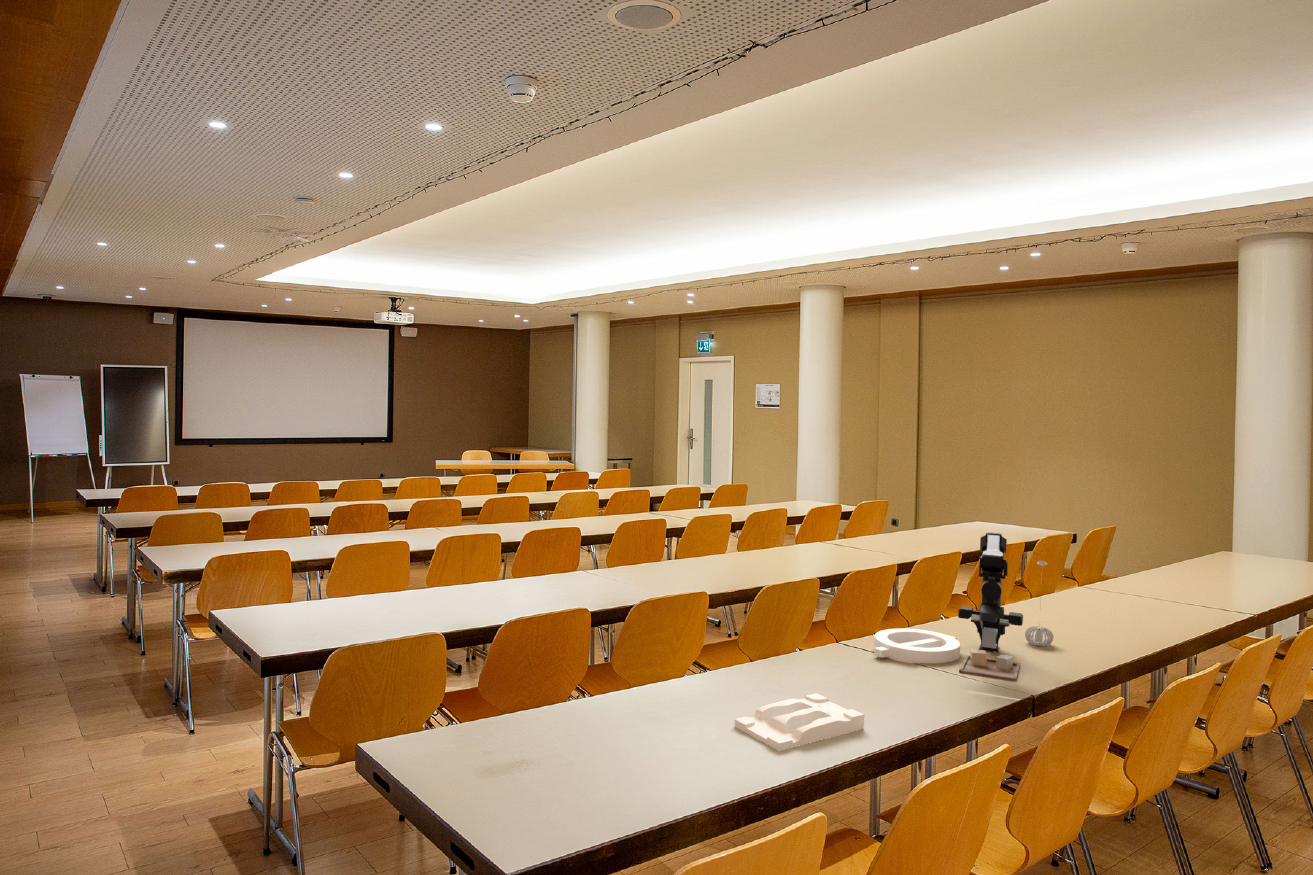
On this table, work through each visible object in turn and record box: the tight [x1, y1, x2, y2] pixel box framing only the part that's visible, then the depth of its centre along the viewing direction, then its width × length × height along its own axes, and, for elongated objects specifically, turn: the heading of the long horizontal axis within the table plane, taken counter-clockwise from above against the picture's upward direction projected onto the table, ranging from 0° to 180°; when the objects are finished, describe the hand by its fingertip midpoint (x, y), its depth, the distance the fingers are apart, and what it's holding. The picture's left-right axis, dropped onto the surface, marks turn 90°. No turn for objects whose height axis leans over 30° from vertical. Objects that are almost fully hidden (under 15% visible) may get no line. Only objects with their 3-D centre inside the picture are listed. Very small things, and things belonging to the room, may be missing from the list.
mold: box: [734, 692, 865, 752], centre depth 218 cm, size 18×29×5 cm, turn 122°
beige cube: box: [995, 653, 1014, 670], centre depth 271 cm, size 4×4×4 cm
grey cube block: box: [982, 627, 998, 648], centre depth 264 cm, size 5×4×5 cm
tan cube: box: [969, 648, 988, 666], centre depth 274 cm, size 4×4×4 cm
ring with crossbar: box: [873, 627, 961, 665], centre depth 288 cm, size 28×28×5 cm
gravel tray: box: [958, 655, 1021, 682], centre depth 269 cm, size 18×17×1 cm
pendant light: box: [1024, 560, 1054, 647], centre depth 300 cm, size 9×9×30 cm
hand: (989, 642), depth 264 cm, fingers closed on grey cube block, 4 cm apart
